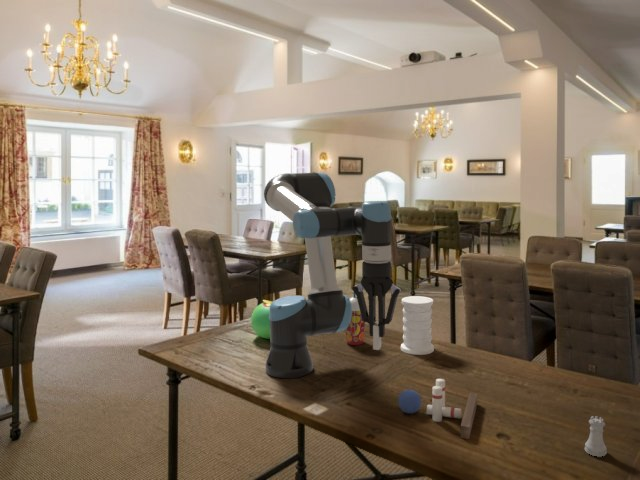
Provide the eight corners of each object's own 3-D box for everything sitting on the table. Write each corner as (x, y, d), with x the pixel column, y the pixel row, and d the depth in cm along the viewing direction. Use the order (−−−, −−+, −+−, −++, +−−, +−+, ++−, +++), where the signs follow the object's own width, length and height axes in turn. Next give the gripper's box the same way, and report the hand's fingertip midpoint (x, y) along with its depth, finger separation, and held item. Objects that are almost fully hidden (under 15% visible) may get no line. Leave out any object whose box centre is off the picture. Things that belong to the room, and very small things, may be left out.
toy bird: (251, 331, 215) (250, 295, 213) (294, 329, 217) (293, 293, 215) (251, 346, 198) (249, 307, 196) (296, 343, 199) (295, 304, 197)
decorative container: (434, 344, 194) (434, 296, 192) (433, 355, 183) (433, 304, 181) (401, 343, 197) (401, 295, 195) (399, 353, 186) (399, 303, 183)
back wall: (460, 437, 128) (460, 425, 127) (469, 403, 146) (469, 392, 146) (469, 439, 127) (469, 427, 127) (477, 404, 145) (477, 393, 145)
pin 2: (431, 421, 136) (431, 389, 135) (433, 416, 139) (433, 385, 138) (441, 422, 135) (441, 390, 134) (442, 418, 138) (443, 386, 137)
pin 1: (434, 412, 141) (434, 381, 140) (436, 408, 143) (436, 378, 142) (444, 414, 140) (444, 382, 139) (445, 410, 142) (446, 379, 141)
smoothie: (342, 339, 202) (341, 287, 200) (364, 338, 203) (363, 287, 200) (345, 347, 194) (344, 292, 191) (368, 346, 195) (367, 292, 192)
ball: (422, 405, 137) (410, 422, 139) (427, 395, 142) (416, 411, 144) (402, 390, 138) (391, 407, 140) (408, 381, 144) (397, 397, 146)
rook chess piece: (586, 445, 123) (587, 412, 122) (607, 451, 121) (609, 417, 119) (582, 454, 119) (584, 420, 118) (605, 460, 117) (607, 425, 116)
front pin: (426, 406, 139) (460, 410, 136) (428, 403, 141) (461, 407, 138) (426, 415, 139) (460, 420, 136) (428, 412, 142) (461, 416, 139)
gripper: (348, 262, 139) (349, 350, 142) (397, 264, 134) (398, 355, 137) (357, 257, 146) (358, 341, 149) (404, 259, 141) (404, 346, 144)
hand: (377, 348), depth 143 cm, fingers closed
